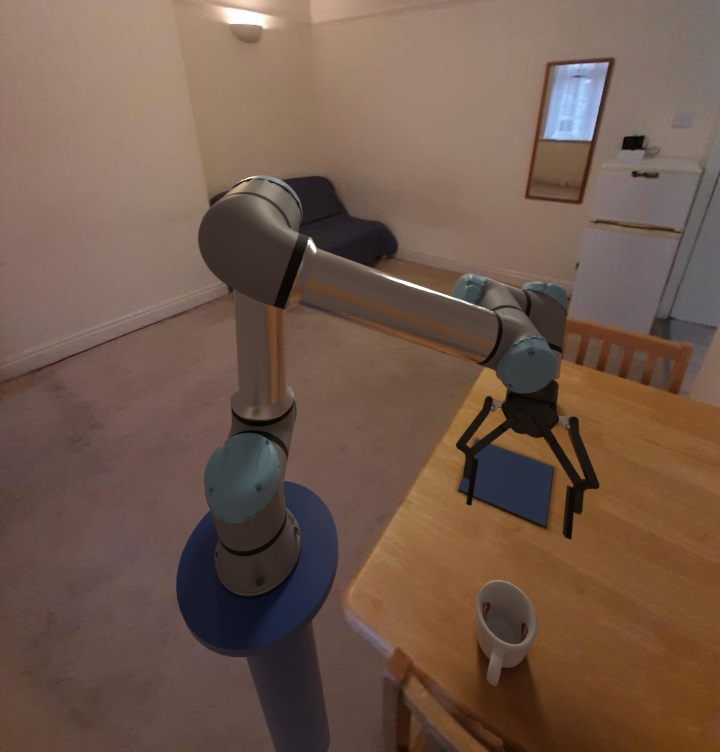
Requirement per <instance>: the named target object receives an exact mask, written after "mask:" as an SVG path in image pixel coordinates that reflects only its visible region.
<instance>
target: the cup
mask: <svg viewBox="0 0 720 752" xmlns="http://www.w3.org/2000/svg"><path fill="white" fill-rule="evenodd" d="M475 625H476V626H475V627H476V628H475V629H476V636H477V641H478V644H479V647H480V648H481V650H482V652H483V654H484V656H485V657H486V658H487V659H488V660H489V664H488V668H487V673H486V681H487V682H488V683H489V684H490V685H491V686H493V687H496V686H498V684H499V681H500V677H501V672H502V669H503V668H506V669H511V668H514V667H517V666H518V665H519V664H520V663H521V662H523V660H524V658H525V657H526V655H527V653H528V652H529V651H530V648H531V647H532V645H533V644H534V642H535V640H536V638H537V635H538V630H539V629H538V627H539V623H538V615H537V613H536V610H535V607H534V605H533V602H532V601H531V599H529V597H528V595H526V594H525V592H524V591H523V590H522V589H520V588H519V587H518V586H516V585H515V584H513V583H512V582H509V581H507V580H502V579H501V580H500V579H495V580H490V581H488V582H486V583H485V584H484V585H482V587H481V588H480V589H479V591H478V593H477V596H476V601H475Z"/></svg>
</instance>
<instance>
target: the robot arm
mask: <svg viewBox="0 0 720 752" xmlns="http://www.w3.org/2000/svg"><path fill="white" fill-rule="evenodd" d="M303 215H304V214H303V206H302V203H301V200H300V197H299V196H298V195H297V192H296V191H295V190H294V189H293V188H292V187H291V186H290V185H289V184H287V182H285V181H284V180H282V179H280V178H277V177H274V176H271V175H254V176H253V175H252V176H250V177H247V178H246V179H245V178H244V179H242V180H240V181H238V182H236V183H235V184H233V186H232V187H231V188H229V190H228V192H227V193H225V195H223V197H221V198H220V199H218V200H217V201H216V202H215V203H214V204H212V205H211V207H209V208H208V209H207V211H206V212H205V214H204V215H203V217H202V219H201V222H200V223H199V228H198V232H197V243H198V249H199V252H200V256H201V258H202V260H203V263H205V265H206V267H207V268H208V270H209V271H210V272H211V273H212V274H213V275H214V276H215V277H216V278H217V279H219V281H221V282H222V283H223V284H224V285H226V286H227V287H229V288H231V289H232V290H233V304H234V307H233V308H234V322H235V323H234V324H235V343H236V345H235V346H236V361H237V362H236V363H237V381H238V382H237V383H238V385H237V387H235V389H234V390H233V391H232V394H231V397H230V410H231V411H230V412H231V425H230V430H229V433H228V435H227V437H226V440H225V441H224V444H223V445H218V446H217V447H216V448H215V449H214V450H213V452H212V453H211V455H210V456H209V459H208V460H207V462H206V466H205V469H204V471H203V472H204V473H203V486H204V496H205V500H206V501H205V502H206V504H207V506H208V508H209V511H211V514H212V517H213V520H214V523H215V527H216V530H217V533H218V542H217V545H216V550H215V568H216V572H217V575H218V578H219V581H220V583H221V584H222V586H223V587H224V588H225V589H226V590H227V591H228V592H229V593H230V594H232V595H234V596H236V597H239V598H244V599H253V598H259V597H262V596H265V595H268V594H270V593H272V592H273V591H275V590H276V589H278V588H279V587H280V586H281V585H283V584H284V583H285V582H286V581H287V580H288V578H289V577H290V576H291V574H292V573H293V571H294V570H295V568H296V566H297V564H298V561H299V558H300V555H301V549H302V539H301V532H300V528H299V525H298V523H297V521H296V519H295V517H294V516H293V514H292V513H291V512H290V511H289V510H288V509H287V507H286V505H285V498H284V492H283V485H284V481H285V476H286V472H287V466H288V461H289V454H290V449H291V444H292V440H293V439H292V438H293V434H294V433H293V432H294V428H295V423H296V421H297V416H298V415H297V414H298V408H297V407H298V406H297V400H296V397H295V393H294V389H293V387H292V385H291V384H290V383H289V382H287V366H288V365H287V364H288V363H287V359H288V358H287V357H288V355H287V353H288V351H287V350H288V310H291V309H293V308H295V307H300V308H304V309H308V310H310V311H313V312H316V313H319V314H323V315H326V316H328V317H332V318H335V319H337V320H340V321H344V322H347V323H350V324H353V325H356V326H360V327H361V328H362V327H363V328H366V329H368V330H371V331H374V332H378V333H379V334H383V335H387V336H389V337H393V338H395V339H398V340H399V339H400V340H403V341H405V342H408V343H411V344H414V345H417V346H421V347H424V348H427V349H429V350H433V351H436V352H439V353H442V354H445V355H448V356H451V357H454V358H458V359H460V360H463V361H466V362H470V363H473V364H476V365H479V366H481V367H484V368H487V369H490V370H492V371H494V372H495V375H496V378H497V379H498V380H500V382H501V383H502V385H503V386H504V387H505V388H506V393H505V398H504V400H503V401H501V400H498V399H495V398H493V397H492V396H491V395H487V396H485V398H484V401H483V404H482V408H481V410H480V411H479V412H478V414H477V415H476V416H475V417H474V418H473V420H472V422H471V423H470V424H469V425H468V427H467V428H466V430H465V431H464V432H463V434H462V435H461V436H460V437H459V439H458V440H457V441H456V443H455V447H456V449H457V450H459V451H460V452H462V453H463V454H464V455H465V459H464V467H463V471H462V472H463V473H462V477H463V476H464V478H466V479H469V480H470V483H469V489H468V494H467V496H466V502H465V505H466V506H470V507H471V506H472V505H473V499H474V497H473V493H474V487H475V480H476V474H477V467H478V461H479V459H476V458H474V456H475V455H476V454H477V453H478V452H480V451H481V450H482V449H484V448H485V447H486V446H487V445H489V444H492V443H493V442H494V441H495V440H497V439H498V438H499V437H501V436H502V435H503V434H504V433H506V432H507V431H509V430H510V429H511V430H512V431H513V432H514V433H515V434H519V435H527V436H529V437H531V438H535V439H541V438H543V439H544V441H545V442H546V444H547V445H548V447H549V448H550V450H551V451H552V453H553V454H554V456H555V458H556V460H557V461H558V463H559V465H560V466H561V467H562V470H563V471H564V472H565V474H566V475H567V477H568V479H569V480H570V482H571V483H572V486H571V485H568V484H567V485H566V492H565V502H564V513H563V523H562V535H563V537H564V538H565V539H568V540H571V541H572V537H573V528H574V527H573V526H574V514H577V515H580V516H581V514H582V513H583V508H584V496H585V491H587V490H598V489H600V486H601V485H600V482H599V480H598V477H597V474H596V471H595V469H594V466H593V464H592V461H591V459H590V457H589V454H588V452H587V449H586V446H585V444H584V442H583V438H582V436H581V434H580V419H579V418H578V417H577V416H575V415H571V416H565V415H559V414H558V409H557V407H558V400H559V399H558V397H559V389H560V384H559V383H558V381H557V380H558V379H560V377H561V368H562V358H563V357H562V356H563V348H564V340H565V332H566V325H567V318H568V315H569V313H568V293H567V291H566V289H564V288H563V287H562V286H560V285H558V284H556V283H552V282H544V281H529V282H526V283H524V284H523V285H522V286H521V288H517V287H514V286H511V285H509V284H506V283H503V282H499V281H497V280H494V279H491V278H489V277H487V276H482V275H478V274H473V273H465V274H463V275H461V276H460V277H459V278H458V279H457V281H456V282H455V284H454V286H453V288H452V291H451V293H450V295H448V294H446V293H443V292H441V291H438V290H435V289H432V288H430V287H426V286H423V285H420V284H418V283H415V282H413V281H409V280H407V279H405V278H401V277H399V276H395V275H393V274H390V273H387V272H384V271H381V270H379V269H376V268H373V267H371V266H368V265H365V264H362V263H360V262H357V261H354V260H351V259H348V258H346V257H343V256H339V255H338V254H335V253H332V252H329V251H327V250H324V249H321V248H318V247H317V246H316V243H315V241H314V239H313V238H312V237H311V236H308V235H305V234H302V233H300V232H299V229H300V227H301V225H302V222H303V218H304V217H303ZM497 409H501V412H502V413H503V415H504V417H505V419H506V420H504V421H503V422H502V423H500V424H499V425H498V426H496V427H495V428H494V429H493V430H491V431H489V433H487V434H486V435H485V436H483V437H482V438H481V439H479V440H480V441H479V442H477V443H476V444H475V445H474V444H473V445H472V446H471V447H470V446H469V445H468V443H469V442H470V440H471V439H472V438H473V436H474V435H475V434H476V433H477V431H478V430H479V428H480V427H481V425H482V424H483V423H484V422H485V420H486V419H487V418H488V416H489V414H490V412H491V413H494V412H496V411H497ZM558 424H561V426H562V429H563V430H564V431H566V432H567V434H568V438H569V440H570V443H571V445H572V448H573V451H574V453H575V456H576V458H577V461H578V464H579V467H580V469H581V472H582V474H583V477H584V478H581V476H580V475H579V473H578V471H577V470H576V468H575V466H574V465H573V463H572V461H571V460H570V459H569V457H568V456H567V454H566V452H565V451H564V449H563V448H562V446H561V445H560V443H559V442H558V440H557V438H556V436H555V434H554V433H553V431H552V429H554V428H555V426H557V425H558Z"/></svg>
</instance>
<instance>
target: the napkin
mask: <svg viewBox="0 0 720 752" xmlns="http://www.w3.org/2000/svg"><path fill="white" fill-rule="evenodd" d="M480 440H481V439H478V438H475V440H474V443H473V445H475V444H476V443H477V442H479V441H480ZM474 458H476V459H479V461H478V467H477V474H476V480H475V487H474V493H473V498H476V499H478V500H479V501H483V502H485V503H487V504H490V505H491V506H495V507H497V508H499V509H501V510H504V511H506V512H508V513H511V514H513V515H514V516H519V517H520V518H522V519H524V520H527V521H530V522H532V523H534V524H537V525H538V526H541V527H544V528H547V527H546V526H547V521H548V520H547V519H548V511H549V503H550V497H551V496H550V495H551V488H552V480H553V473H554V466H553V465H550V464H548V463H545V462H542V461H539V460H537V459H534V458H531V457H528V456H526V455H523V454H520V453H517V452H514V451H512V450H508V449H506V448H503V447H501V446H497V445H495V444H493V443H490V444H489V445H487V446H486V447H485V448H484V449H482V450H481V451H480V452H478V453H477V454H476V455H475V456H474ZM459 483H460V484H459V486H458V490H457V491H459V492H461V493H464V494H466V495H468V489H469V483H470V480H469V479H466V478H464V476H463V475H462V478H461V480H460V482H459Z"/></svg>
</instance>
